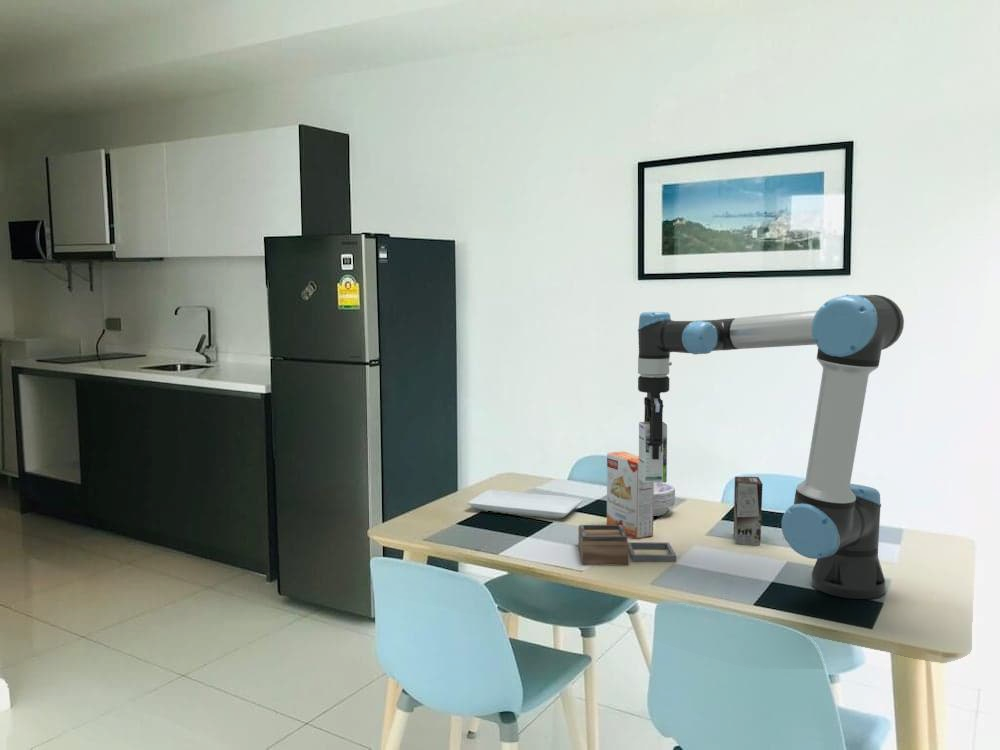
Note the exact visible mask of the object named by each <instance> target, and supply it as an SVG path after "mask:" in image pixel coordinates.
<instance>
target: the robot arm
mask: <svg viewBox="0 0 1000 750" xmlns="http://www.w3.org/2000/svg"><path fill="white" fill-rule="evenodd" d="M638 317H639V318H638V319H639V320H638V329H637V333H638V357H637V374H638V375H639V376H638V377H637V390H638V392H641V393H646V396H645V397H644V398H643V401H644V402H643V405H644V416H643V417H644V421H643V422H650V443H647V446H649V472H661V445H662V444H663V441H662V422H663V413H664V412H663V410H664V403H663V399H662V398H661V393H665V394H666V393H667V392H669V391H670V377H669V376H668V375H669V374H670V366H672V365H673V362H672V361H670V357H671V356H670V355H671V353H680V354H681V353H682V354H692V355H706V354H707V355H708V354H710V353H711V352H715V351H718V352H719V351H734V350H744V349H747V350H748V349H762V348H763V349H765V348H766V349H767V348H779V347H781V348H782V347H783V348H784V347H798V346H801V347H802V346H816V347H817V355H816V360H817V361H818V363H819V364H820V365H821V367H822V372H821V373H822V374H821V380H820V381H821V382H820V386H819V393H818V399H817V405H816V410H815V418H814V424H813V429H812V430H813V431H812V435H811V436H812V437H811V442H810V449H809V456H808V461H807V468H806V473H805V474H806V475H805V478H804V479H805V480H803V481H801V482H800V483H799V484H797V485H796V487H795V492H794V493H795V494H794V500H793V505H791V506H789V507H788V508H787V509H786V511H785V512H783V515H782V518H781V531H782V535H783V537H784V539H785V541H786V542H787V543H788V546H789V547H791V550H793V551H794V552H796V554H798V555H801V556H803V557H805V558H807V559H812V560H816V561H815V564H814V567H813V569H812V571H811V579H810V581H811V582H810V583H811V585H812V587H813V588H814V589H816V590H818V591H820V592H822V593H825V594H827V595H831V596H834V597H839V598H844V599H852V600H869V599H876V598H880V597H882V596H884V595H885V594H886V579H885V575H884V571H883V569H882V566H881V563H880V558H879V539H880V525H881V524H880V522H881V521H880V519H881V518H880V517H881V507H882V503H881V494H880V492H879V490H878V489H876V488H874V487H871V486H866V485H862V484H856V483H851V482H852V480H851V479H852V474H853V470H854V464H855V458H856V451H857V445H858V439H859V434H860V428H861V422H862V416H863V411H864V410H863V409H864V406H865V405H864V404H865V398H866V393H867V386H868V382H869V377H870V374H871V373H872V372H873V371H875V370H877V369H879V366H880V360H881V355H882V351H883V350H885V349H888V348H890V347H891V346H893V345H894V344H895V343H896V342H898V340H899V338H900V337H901V335H902V333H903V331H904V324H905V319H904V315H903V312H902V310H901V308H900V306H899V305H898V304H897V303H896V302H895V301H893V300H892V299H890V298H889V297H886V296H883V295H879V294H862V295H861V294H844V295H841V296H837V297H833V298H830V299H829V300H827V301H826V302H825V303H823V304H822V305H821V306H820V307H819V308H818V310H817V309H816V310H808V311H807V310H806V311H796V312H787V313H775V314H765V315H755V316H743V317H736V318H734V317H733V318H719V319H707V320H705V319H702V320H672V319H671V314H670V312H668V311H645V312H642V313H640V315H639V316H638ZM655 439H658V440H655Z"/></svg>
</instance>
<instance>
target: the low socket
mask: <svg viewBox="0 0 1000 750" xmlns="http://www.w3.org/2000/svg"><path fill="white" fill-rule="evenodd" d="M628 544H629V557H630V559H631V562H638V561H640V562H642V561H643V562H645V563H647V562H649V563H650V562H653V563H655V562H658V563H662V562H661V561H664V562H663V563H665V561H666V562H667V561H668V562H669V563H673V562H674V563H677V555H676V552H675V551H674V549H673V546H672V545H671V544H670V542H657V541H655V542H651V541H650V542H645V541H643V542H640V541H639V542H638V541H637V542H636V541H634V542H633V541H628ZM666 549H667V550H666ZM634 550H666V552H667V551H668V552H667V553H668V554H645V553H644V554H636V553H635V551H634ZM668 562H667V563H668Z"/></svg>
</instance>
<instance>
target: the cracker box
mask: <svg viewBox="0 0 1000 750" xmlns="http://www.w3.org/2000/svg"><path fill="white" fill-rule="evenodd" d="M606 456H607V457H606V472H607V473H606V525H622V527H623V529H624V532H625V534H626V536H630V537H632V538H633V539H635V538H636V539H635V540H639V539H643V538H648V537H649V536H650V537H653V536H654V517H653V497H654V483H643V482H642V481H641V480H640V479H639V455H636V454H633V453H630V452H626V451H615V452H613V451H612V452H609V453H608V452H607V453H606Z"/></svg>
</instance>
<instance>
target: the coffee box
mask: <svg viewBox="0 0 1000 750" xmlns="http://www.w3.org/2000/svg"><path fill="white" fill-rule="evenodd" d="M733 491H734V496H733V497H734V499H733V537H734V541H735V544H736V545H752V546H761V536H762V509H763V507H762V506H763V482H762V480H761V479H760V477H759V476H734V490H733Z"/></svg>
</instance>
